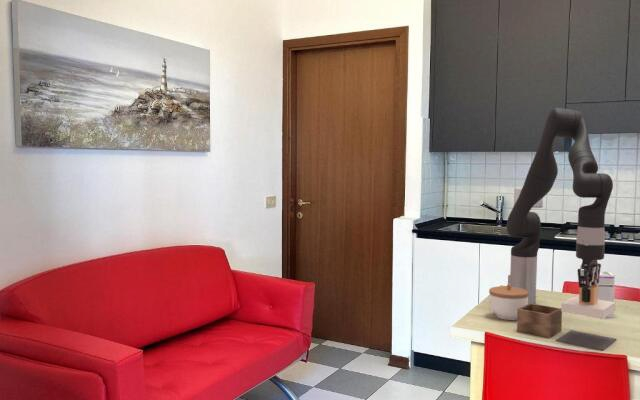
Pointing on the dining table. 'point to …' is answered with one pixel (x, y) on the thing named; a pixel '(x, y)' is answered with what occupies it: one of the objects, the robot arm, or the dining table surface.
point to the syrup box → (606, 288)
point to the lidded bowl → (507, 301)
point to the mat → (586, 340)
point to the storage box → (539, 320)
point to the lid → (588, 305)
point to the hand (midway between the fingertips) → (588, 300)
